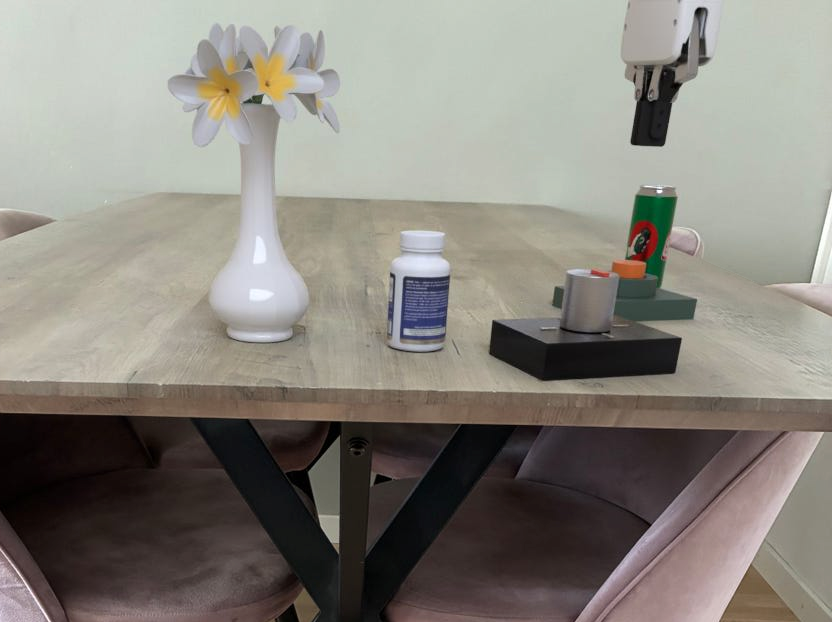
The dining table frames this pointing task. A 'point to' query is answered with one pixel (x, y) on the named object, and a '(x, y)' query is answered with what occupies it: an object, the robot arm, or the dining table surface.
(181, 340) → the dining table surface
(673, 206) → the soda can
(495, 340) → the dial panel
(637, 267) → the button
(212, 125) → the flower vase
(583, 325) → the dial
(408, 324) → the pill bottle
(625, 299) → the button block
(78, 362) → the dining table surface
